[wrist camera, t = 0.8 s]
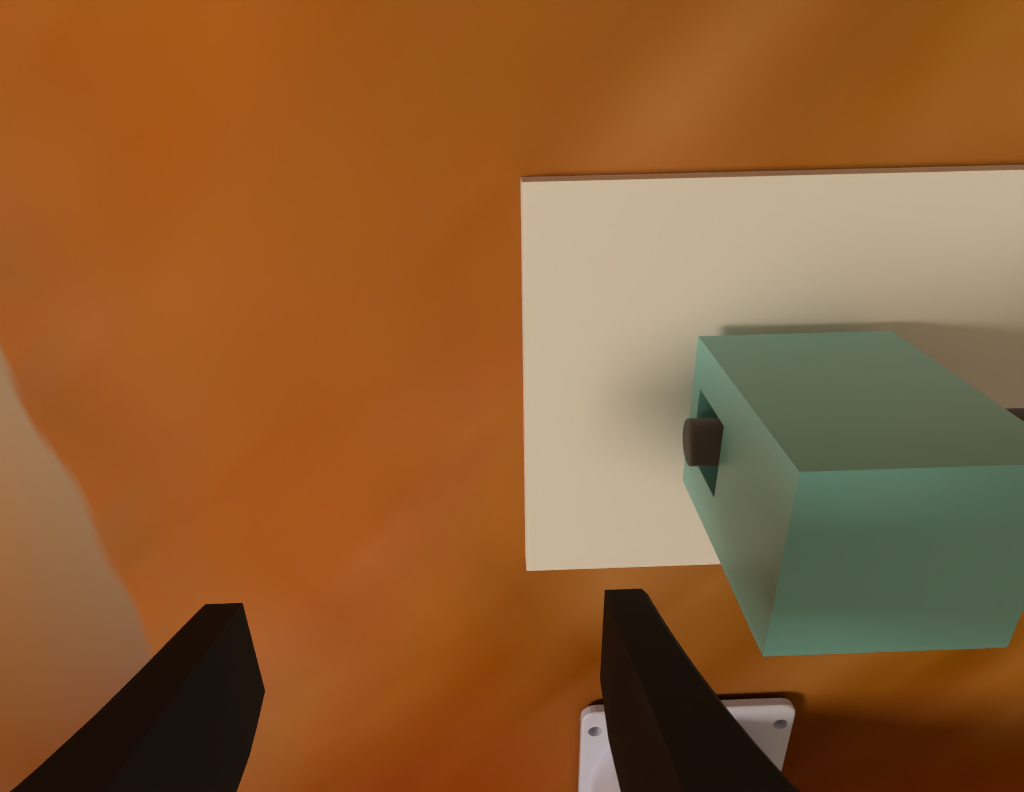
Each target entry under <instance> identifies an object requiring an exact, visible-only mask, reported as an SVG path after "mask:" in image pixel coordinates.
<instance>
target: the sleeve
mask: <svg viewBox="0 0 1024 792" xmlns="http://www.w3.org/2000/svg"><path fill="white" fill-rule="evenodd" d="M717 417H718V418H719V419H720V421H721V422H722V424H723V426H724V429H723V437H722V444H721V451H720V459H719V466H691V467H690V466H688V464H687V462H686V460H685V463H684V472H683V482H684V484H685V487H686V489H687V491H688V493H689V495H690V498H691V500H692V502H693V504H694V506H695V509H696V511H697V513H698V515H699V517H700V520H701V522H702V524H703V526H704V528H705V530H706V533H707V535H708V537H709V539H710V541H711V544H712V546H713V548H714V550H715V552H716V555H717V557H718V559H719V561H720V563H721V566H722V568H723V570H724V572H725V574H726V577H727V579H728V581H729V583H730V585H731V588H732V590H733V592H734V594H735V596H736V599H737V601H738V603H739V605H740V607H741V610H742V612H743V614H744V616H745V618H746V621H747V623H748V625H749V627H750V629H751V632H752V634H753V636H754V638H755V640H756V643H757V645H758V647H759V649H760V651H761V654H762V656H789V655H815V654H842V653H868V652H895V651H921V650H948V649H974V648H1001V647H1008V644H1009V642H1010V640H1011V637H1012V635H1013V632H1014V630H1015V628H1016V625H1017V623H1018V620H1019V618H1020V616H1021V613H1022V611H1023V608H1024V421H1022V420H1021V419H1019V418H1018V417H1016V416H1015V415H1014V414H1012V413H1011V412H1009V411H1008V410H1006V409H1005V408H1003V407H1002V406H1000V405H999V404H997V403H996V402H995V401H993V400H992V399H990V398H989V397H987V396H986V395H984V394H983V393H981V392H980V391H979V390H977V389H976V388H974V387H973V386H971V385H970V384H968V383H967V382H965V381H964V380H962V379H961V378H960V377H958V376H957V375H955V374H954V373H952V372H951V371H949V370H948V369H946V368H945V367H944V366H942V365H941V364H939V363H938V362H936V361H935V360H933V359H932V358H930V357H929V356H927V355H926V354H925V353H923V352H922V351H920V350H919V349H917V348H916V347H914V346H913V345H911V344H910V343H909V342H907V341H906V340H904V339H903V338H901V337H900V336H898V335H897V334H895V333H894V332H892V331H860V332H825V333H791V334H756V335H722V336H698V344H697V353H696V363H695V372H694V381H693V390H692V399H691V408H690V417H689V418H717Z"/></svg>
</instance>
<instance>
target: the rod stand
mask: <svg viewBox="0 0 1024 792" xmlns="http://www.w3.org/2000/svg"><path fill="white" fill-rule="evenodd" d="M521 250H522V327H523V404H524V480H525V555H526V569H527V571H536V570H564V569H592V568H621V567H649V566H678V565H706V564H721V563H720V561H719V559H718V557H717V555H716V552H715V550H714V548H713V546H712V544H711V541H710V539H709V537H708V535H707V533H706V530H705V528H704V526H703V524H702V522H701V520H700V517H699V515H698V513H697V511H696V509H695V506H694V504H693V502H692V500H691V498H690V495H689V493H688V491H687V489H686V487H685V484H684V482H683V472H684V463H685V460H686V462H687V464H688V466H690V467H691V466H719V459H720V451H721V444H722V437H723V429H724V426H723V424H722V422H721V421H720V419H719V418H718V417H717V418H689V417H690V408H691V399H692V390H693V381H694V372H695V363H696V353H697V344H698V336H722V335H756V334H791V333H825V332H860V331H892V332H894V333H895V334H897V335H898V336H900V337H901V338H903V339H904V340H906V341H907V342H909V343H910V344H911V345H913V346H914V347H916V348H917V349H919V350H920V351H922V352H923V353H925V354H926V355H927V356H929V357H930V358H932V359H933V360H935V361H936V362H938V363H939V364H941V365H942V366H944V367H945V368H946V369H948V370H949V371H951V372H952V373H954V374H955V375H957V376H958V377H960V378H961V379H962V380H964V381H965V382H967V383H968V384H970V385H971V386H973V387H974V388H976V389H977V390H979V391H980V392H981V393H983V394H984V395H986V396H987V397H989V398H990V399H992V400H993V401H995V402H996V403H997V404H999V405H1000V406H1002V407H1003V408H1005V409H1006V410H1008V411H1009V412H1011V413H1012V414H1014V415H1015V416H1016V417H1018V418H1019V419H1021V420H1022V421H1024V164H1023V165H983V166H942V167H902V168H861V169H820V170H780V171H739V172H699V173H658V174H618V175H577V176H536V177H521Z"/></svg>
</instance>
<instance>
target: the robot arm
mask: <svg viewBox="0 0 1024 792" xmlns="http://www.w3.org/2000/svg"><path fill="white" fill-rule="evenodd" d="M600 681H601V689H602V696H603V704H604V705H591V706H588V707H586V708H585V709H584V710H583V711H582V713H581V729H580V755H579V782H578V792H800V791H799V790H798V789H797V788H796V787H795V786H794V785H793V784H792V783H791V782H790V781H789V780H788V779H787V778H786V776H785V775H784V774H783V773H782V772H781V771H782V767H783V763H784V758H785V754H786V750H787V746H788V742H789V738H790V734H791V729H792V725H793V721H794V717H795V709H794V706H793V704H792V703H791V701H790V700H788V699H786V698H761V699H735V700H720V699H719V698H718V696H717V695H716V694H715V692H714V691H713V690H712V688H711V687H710V686H709V684H708V683H707V682H706V680H705V679H704V678H703V677H702V675H701V674H700V673H699V671H698V670H697V669H696V667H695V666H694V664H693V663H692V662H691V660H690V659H689V657H688V656H687V655H686V653H685V652H684V650H683V649H682V647H681V646H680V644H679V643H678V642H677V640H676V639H675V637H674V636H673V634H672V633H671V631H670V630H669V628H668V627H667V625H666V624H665V622H664V620H663V619H662V617H661V616H660V614H659V612H658V611H657V609H656V608H655V606H654V604H653V603H652V601H651V599H650V597H649V596H648V594H647V593H646V592H645V591H644V590H642V589H619V590H605V597H604V616H603V634H602V653H601V671H600ZM264 693H265V689H264V685H263V681H262V677H261V673H260V670H259V666H258V662H257V658H256V654H255V650H254V646H253V642H252V638H251V634H250V630H249V627H248V623H247V619H246V615H245V611H244V607H243V603H227V604H205V605H204V606H203V607H202V608H201V609H200V610H199V611H198V612H197V613H196V614H195V615H194V616H193V617H192V618H191V619H190V620H189V621H188V622H187V623H186V624H185V625H184V626H183V627H182V628H181V629H180V630H179V631H178V632H177V633H176V634H175V635H174V636H173V637H172V638H171V639H170V640H169V641H168V642H167V643H166V644H165V645H164V647H163V648H162V649H161V650H160V651H159V652H158V653H157V654H156V655H155V656H154V657H153V658H152V659H151V660H150V661H149V662H148V663H147V664H146V665H145V666H144V667H143V668H142V669H141V670H140V671H139V672H138V673H137V674H136V675H135V676H134V677H133V678H132V679H131V680H130V681H129V682H128V683H127V684H126V685H125V686H124V687H123V688H122V689H121V690H120V691H119V692H118V693H117V694H116V695H115V696H114V697H113V698H112V699H111V700H110V701H109V702H108V703H107V704H106V705H105V706H104V707H103V708H102V709H101V710H100V711H99V712H98V713H97V714H96V715H95V716H93V718H91V719H90V721H88V722H87V723H86V724H85V725H84V726H83V727H82V728H81V729H80V730H78V731H77V732H76V733H75V734H74V735H73V736H72V737H71V738H70V739H69V740H68V741H67V742H65V744H63V745H62V746H61V747H60V748H59V749H58V750H57V751H56V752H55V753H54V754H52V755H51V756H50V757H49V758H48V759H47V760H46V761H45V762H44V763H43V764H42V765H40V766H39V767H38V768H37V769H36V770H35V771H34V772H33V773H31V774H30V775H29V776H28V777H27V778H26V779H24V780H23V781H22V782H21V783H20V784H19V785H18V786H16V787H15V788H14V789H13V790H12V791H10V792H237V789H238V786H239V783H240V781H241V778H242V775H243V772H244V770H245V767H246V764H247V761H248V758H249V755H250V752H251V748H252V744H253V740H254V736H255V732H256V728H257V724H258V719H259V715H260V711H261V706H262V702H263V697H264Z"/></svg>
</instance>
